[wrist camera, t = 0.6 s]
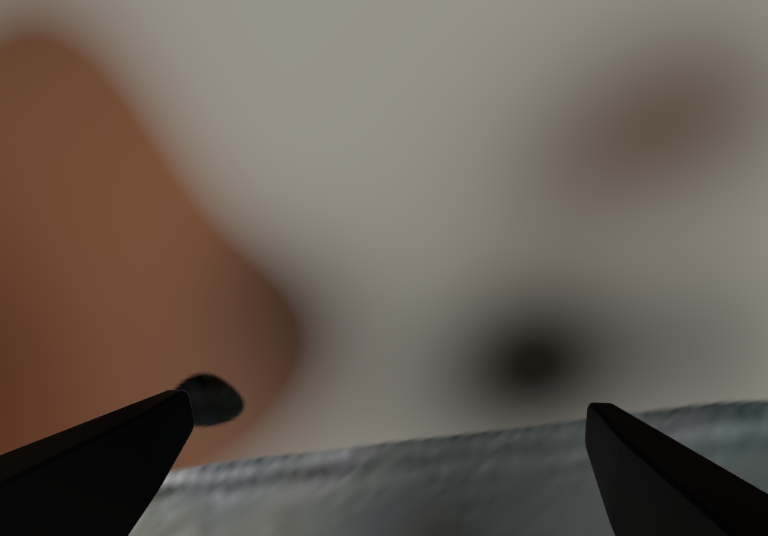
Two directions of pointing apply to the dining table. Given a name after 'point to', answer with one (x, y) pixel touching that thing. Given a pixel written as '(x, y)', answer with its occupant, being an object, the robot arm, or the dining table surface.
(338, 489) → the dining table surface
